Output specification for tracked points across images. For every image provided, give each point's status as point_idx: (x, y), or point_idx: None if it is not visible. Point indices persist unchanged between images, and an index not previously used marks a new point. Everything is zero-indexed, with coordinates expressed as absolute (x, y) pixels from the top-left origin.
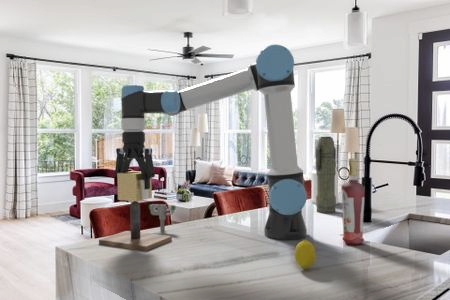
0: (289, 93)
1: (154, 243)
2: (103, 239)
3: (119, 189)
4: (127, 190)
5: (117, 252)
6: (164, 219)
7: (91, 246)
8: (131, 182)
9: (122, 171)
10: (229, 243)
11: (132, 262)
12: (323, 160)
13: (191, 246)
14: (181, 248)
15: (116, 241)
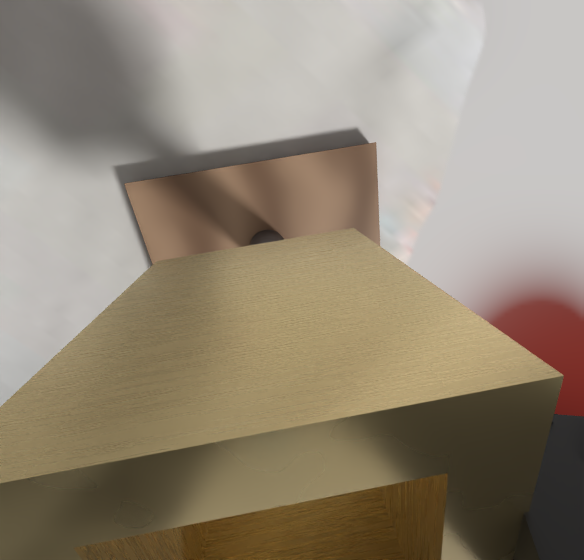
0: None
1: (143, 236)
2: (360, 156)
3: (362, 256)
4: (247, 274)
5: (206, 99)
6: None
7: (369, 99)
8: (157, 335)
9: (555, 532)
10: None
11: (23, 24)
12: None
13: (65, 316)
14: (68, 280)
15: (287, 165)
